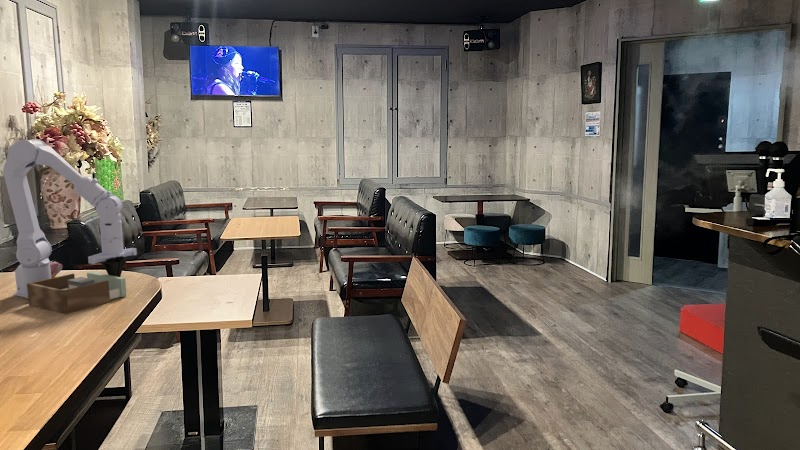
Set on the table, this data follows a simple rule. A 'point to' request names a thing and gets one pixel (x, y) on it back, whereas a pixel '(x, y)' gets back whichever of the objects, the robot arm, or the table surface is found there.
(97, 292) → the dock housing
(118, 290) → the tray
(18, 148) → the robot arm
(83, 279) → the grey upright block
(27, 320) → the table surface
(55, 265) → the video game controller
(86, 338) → the table surface
